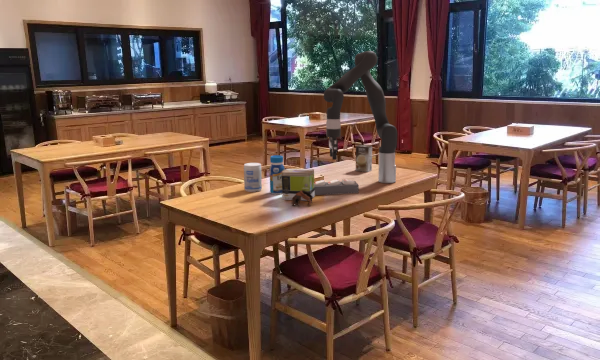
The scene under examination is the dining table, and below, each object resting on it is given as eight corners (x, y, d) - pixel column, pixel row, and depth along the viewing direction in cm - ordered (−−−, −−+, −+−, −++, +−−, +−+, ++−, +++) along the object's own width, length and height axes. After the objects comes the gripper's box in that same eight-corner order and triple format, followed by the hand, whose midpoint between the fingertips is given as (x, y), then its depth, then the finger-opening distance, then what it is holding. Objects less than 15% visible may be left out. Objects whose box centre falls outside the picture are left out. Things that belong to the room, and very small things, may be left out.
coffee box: (354, 170, 320) (355, 146, 317) (359, 169, 326) (359, 144, 322) (368, 172, 316) (368, 147, 312) (372, 170, 321) (372, 145, 317)
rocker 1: (324, 182, 270) (323, 179, 270) (325, 184, 266) (324, 181, 265) (313, 185, 270) (312, 182, 269) (314, 187, 265) (313, 184, 265)
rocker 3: (352, 183, 272) (353, 180, 271) (354, 185, 268) (354, 182, 267) (341, 182, 271) (342, 178, 271) (343, 183, 267) (344, 180, 266)
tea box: (315, 196, 261) (314, 168, 258) (310, 201, 252) (309, 172, 249) (287, 195, 265) (286, 167, 262) (281, 200, 256) (280, 171, 253)
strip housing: (354, 188, 275) (354, 180, 274) (358, 193, 266) (358, 184, 265) (309, 191, 273) (309, 182, 272) (311, 195, 264) (311, 186, 263)
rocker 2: (338, 182, 271) (337, 178, 270) (340, 184, 267) (339, 180, 266) (327, 184, 270) (327, 181, 270) (329, 186, 266) (328, 183, 266)
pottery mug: (296, 202, 253) (304, 188, 251) (310, 213, 249) (318, 199, 247) (283, 202, 243) (292, 187, 241) (297, 213, 238) (306, 199, 236)
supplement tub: (246, 193, 271) (245, 166, 268) (242, 189, 280) (241, 163, 276) (264, 191, 274) (263, 165, 271) (259, 187, 283) (258, 161, 279)
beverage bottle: (275, 190, 276) (274, 154, 271) (288, 191, 272) (287, 155, 267) (266, 193, 269) (265, 157, 264) (280, 195, 265) (278, 158, 260)
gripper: (342, 129, 255) (342, 160, 259) (338, 125, 269) (337, 155, 273) (328, 129, 255) (328, 160, 258) (324, 126, 268) (324, 155, 272)
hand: (333, 158), depth 265 cm, fingers open, 8 cm apart
